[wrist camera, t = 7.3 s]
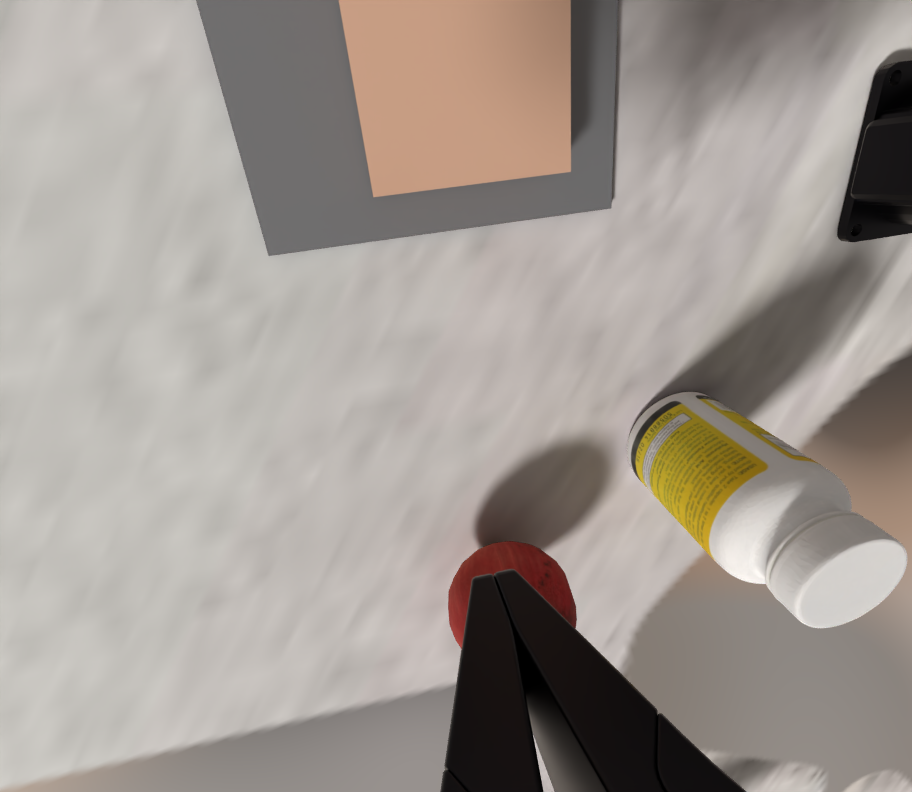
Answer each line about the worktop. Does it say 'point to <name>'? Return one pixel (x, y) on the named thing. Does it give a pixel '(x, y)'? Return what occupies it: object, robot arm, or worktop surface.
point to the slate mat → (340, 137)
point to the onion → (506, 556)
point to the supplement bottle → (764, 509)
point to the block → (460, 90)
